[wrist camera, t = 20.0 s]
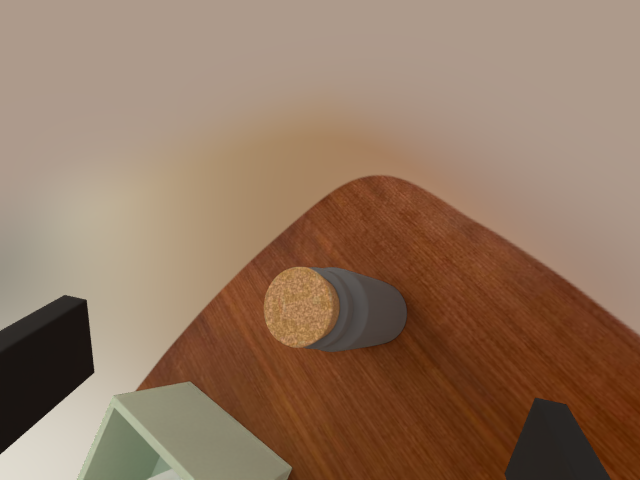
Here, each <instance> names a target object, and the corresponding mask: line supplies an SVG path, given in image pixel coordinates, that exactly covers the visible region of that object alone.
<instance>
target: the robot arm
mask: <svg viewBox="0 0 640 480" xmlns="http://www.w3.org/2000/svg"><path fill="white" fill-rule="evenodd" d="M93 373H94V365H93V355H92V346H91V337H90V327H89V318H88V308H87V300H85V299H80V298H76V297H71V296H67V295H64V296H62V297H60V298H59V299H57V300H55V301H53V302H51V303H49V304H48V305H46V306H44V307H42V308H41V309H39V310H37V311H35V312H33V313H31V314H30V315H28V316H26V317H24V318H22V319H21V320H19V321H17V322H15V323H13V324H12V325H10V326H8V327H6V328H4V329H3V330H1V331H0V454H1V453H2V452H4V451H5V450H6V449H7V448H8V447H9V446H10V445H12V444H13V443H14V442H15V441H16V440H17V439H18V438H20V437H21V436H22V435H23V434H24V433H25V432H26V431H28V430H29V429H30V428H31V427H32V426H33V425H35V424H36V423H37V422H38V421H39V420H40V419H42V418H43V417H44V416H45V415H46V414H47V413H48V412H50V411H51V410H52V409H53V408H54V407H55V406H56V405H58V404H59V403H60V402H61V401H62V400H63V399H64V398H65V397H67V396H68V395H69V394H70V393H71V392H73V391H74V390H75V389H76V388H77V387H78V386H79V385H81V384H82V383H83V382H84V381H85V380H86V379H87V378H89V377H90V376H91V375H92V374H93ZM505 476H506V479H507V480H611V479H610V477H609V476H608V474H607V472H606V471H605V469H604V467H603V465H602V464H601V462H600V460H599V459H598V457H597V455H596V454H595V452H594V450H593V449H592V447H591V445H590V444H589V442H588V440H587V439H586V437H585V435H584V433H583V432H582V430H581V428H580V427H579V425H578V423H577V422H576V420H575V418H574V417H573V415H572V413H571V412H570V410H569V408H568V406H567V405H566V404H562V403H557V402H553V401H548V400H543V399H539V398H535V399H534V402H533V404H532V407H531V409H530V412H529V414H528V417H527V419H526V422H525V424H524V427H523V429H522V432H521V434H520V437H519V439H518V442H517V444H516V447H515V449H514V452H513V454H512V457H511V459H510V462H509V464H508V467H507V469H506V472H505Z"/></svg>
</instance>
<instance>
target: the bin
mask: <svg viewBox="0 0 640 480" xmlns="http://www.w3.org/2000/svg"><path fill="white" fill-rule="evenodd" d="M170 469H173V470H174V471H175V472H176V473H177V474H178V475H179V476H180V477H181V479H182V480H287V479H288V477H289V474H290V472H291V470H292V467H291V466H290V465H289V464H288V463H286V462H285V461H284V460H283V459H282V458H280V457H279V456H278V455H277V454H276V453H275V452H273V451H272V450H271V449H270V448H269V447H267V446H266V445H265V444H264V443H263V442H261V441H260V440H259V439H258V438H257V437H255V436H254V435H253V434H252V433H251V432H250V431H248V430H247V429H246V428H245V427H244V426H242V425H241V424H240V423H239V422H238V421H236V420H235V419H234V418H233V417H232V416H230V415H229V414H228V413H227V412H226V411H224V410H223V409H222V408H221V407H220V406H219V405H217V404H216V403H215V402H214V401H213V400H211V399H210V398H209V397H208V396H207V395H205V394H204V393H203V392H202V391H201V390H199V389H198V388H197V387H196V386H195V385H194V384H192V383H191V382H190V381H189V382H185V383H179V384H174V385H168V386H163V387H157V388H152V389H146V390H141V391H136V392H131V393H125V394H119V395H114V396H113V397H112V400H111V402H110V404H109V407H108V409H107V411H106V414H105V416H104V418H103V420H102V423H101V425H100V427H99V430H98V432H97V435H96V436H95V439H94V442H93V444H92V446H91V448H90V451H89V453H88V455H87V457H86V460H85V462H84V464H83V467H82V469H81V471H80V474H79V476H78V478H77V480H147V479H149V478H151V477H154V476H156V475H158V474H161V473H163V472H165V471H168V470H170Z"/></svg>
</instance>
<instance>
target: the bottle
mask: <svg viewBox="0 0 640 480" xmlns="http://www.w3.org/2000/svg"><path fill="white" fill-rule="evenodd" d="M264 316H265V321H266V324H267V326H268V329H269V330H270V332H271V333H272V335H273V336H274V337H275V338H276V339H277V340H278V341H279V342H281V343H282V344H284V345H287V346H289V347H296V348H300V347H303V348H308V349H319V350H322V351H327V352H336V351H345V350H351V349H357V348H363V347H369V346H375V345H380V344H384V343H387V342H389V341H392V340H393V339H395V338H396V337H397V336H398V335H399V334H400V333H401V331H402V330H403V328H404V326H405V323H406V319H407V308H406V304H405V301H404V299H403V297H402V295H401V294H400V292H399V291H398V290H397V289H396V288H394V287H393V286H391V285H390V284H388V283H385V282H383V281H380V280H377V279H374V278H371V277H368V276H364V275H361V274H358V273H355V272H352V271H348V270H345V269H341V268H334V267H329V268H317V267H312V268H306V267H293V268H290V269H287V270H285V271H283V272H282V273H280V274H279V275H278V276H277V277H276V278H275V279H274V280H273V281H272V283H271V284H270V286H269V288H268V290H267V293H266V296H265V301H264Z"/></svg>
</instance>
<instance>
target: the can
mask: <svg viewBox="0 0 640 480" xmlns="http://www.w3.org/2000/svg"><path fill="white" fill-rule="evenodd" d="M147 480H182V479H181V477H180V476H179V475H178V474H177V473H176V472H175V471H174V470H173V469H170V470H168V471H165V472H163V473H161V474H158V475H156V476H154V477H151V478H149V479H147Z"/></svg>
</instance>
